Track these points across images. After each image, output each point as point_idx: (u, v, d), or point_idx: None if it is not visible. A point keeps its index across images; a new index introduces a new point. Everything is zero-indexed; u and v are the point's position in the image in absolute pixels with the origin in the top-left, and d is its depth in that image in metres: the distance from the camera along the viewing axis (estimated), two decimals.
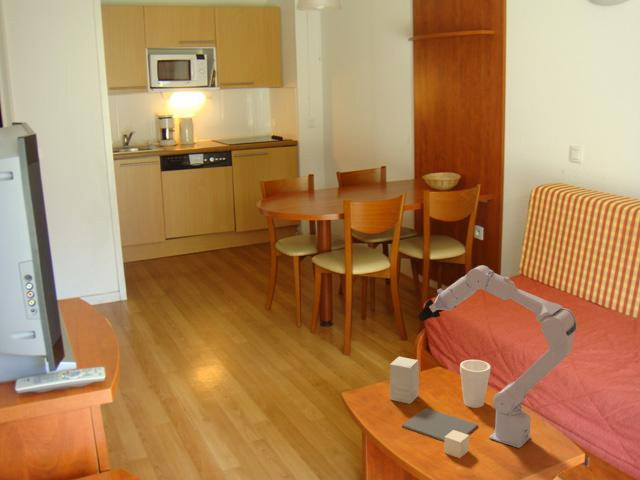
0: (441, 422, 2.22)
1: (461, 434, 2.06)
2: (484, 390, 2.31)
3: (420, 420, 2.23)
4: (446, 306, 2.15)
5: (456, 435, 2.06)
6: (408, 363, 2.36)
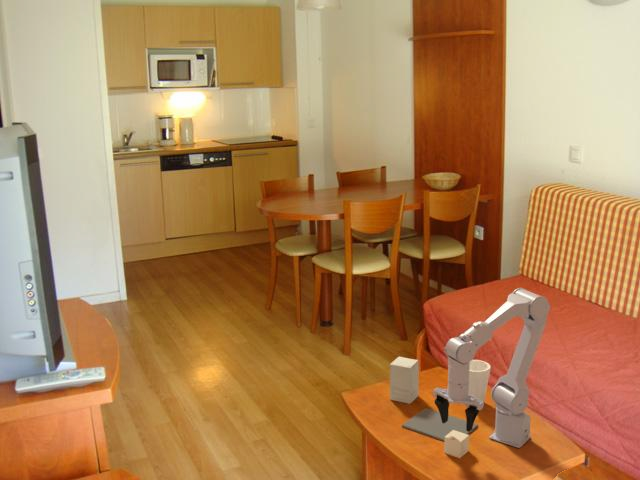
0: (441, 422, 2.22)
1: (461, 434, 2.06)
2: (484, 390, 2.31)
3: (420, 420, 2.23)
4: (468, 395, 2.02)
5: (456, 435, 2.06)
6: (408, 363, 2.36)
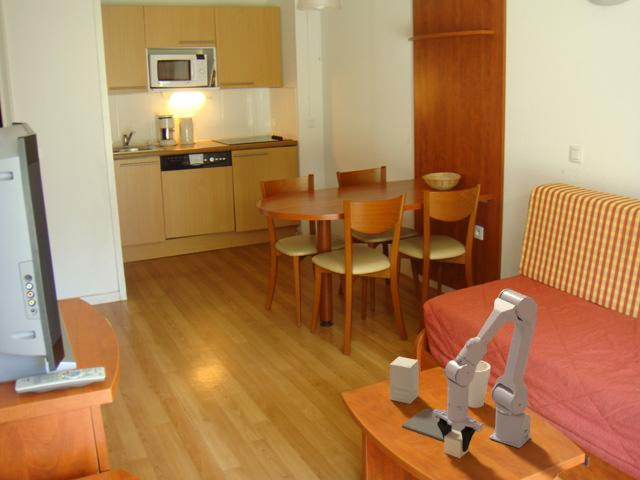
0: None
1: (461, 434, 2.06)
2: (484, 390, 2.31)
3: (420, 420, 2.23)
4: (468, 417, 2.04)
5: (456, 434, 2.06)
6: (408, 363, 2.36)
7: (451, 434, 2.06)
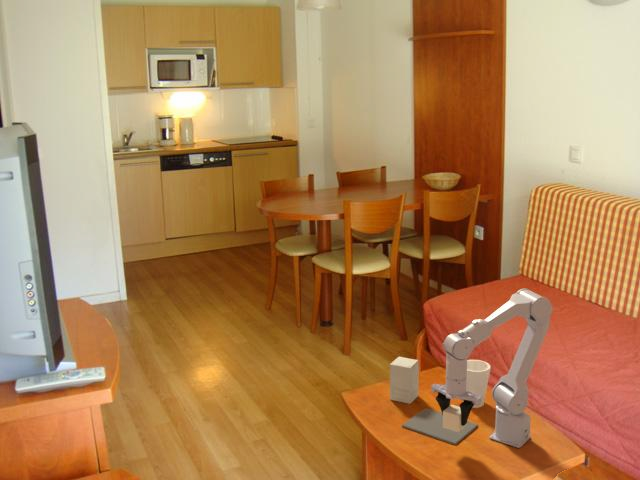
0: (441, 422, 2.22)
1: (459, 408, 2.07)
2: (484, 390, 2.31)
3: (420, 420, 2.23)
4: (466, 391, 2.04)
5: (454, 409, 2.06)
6: (408, 363, 2.36)
7: (449, 409, 2.06)
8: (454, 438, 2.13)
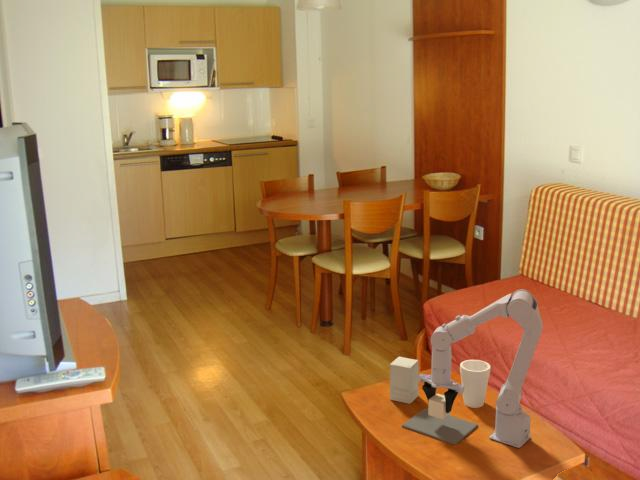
0: (441, 422, 2.22)
1: (444, 397, 2.20)
2: (484, 390, 2.31)
3: (420, 420, 2.23)
4: (450, 380, 2.17)
5: (439, 397, 2.19)
6: (408, 363, 2.36)
7: (435, 397, 2.19)
8: (454, 438, 2.13)
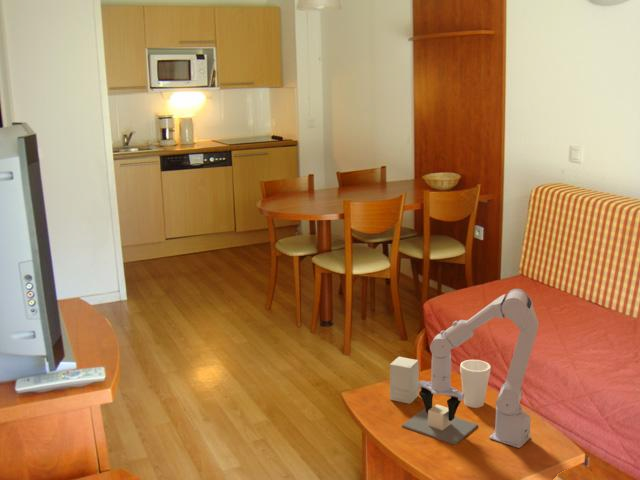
0: None
1: (444, 408, 2.20)
2: (484, 390, 2.31)
3: (420, 420, 2.23)
4: (450, 387, 2.18)
5: (439, 408, 2.20)
6: (408, 363, 2.36)
7: (435, 408, 2.20)
8: (454, 438, 2.13)
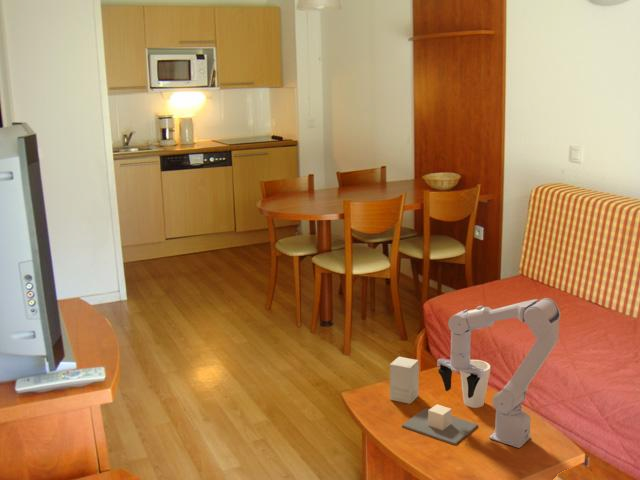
0: None
1: (444, 408, 2.20)
2: (484, 390, 2.31)
3: (420, 420, 2.23)
4: (470, 364, 2.19)
5: (439, 408, 2.20)
6: (408, 363, 2.36)
7: (435, 408, 2.20)
8: (454, 438, 2.13)
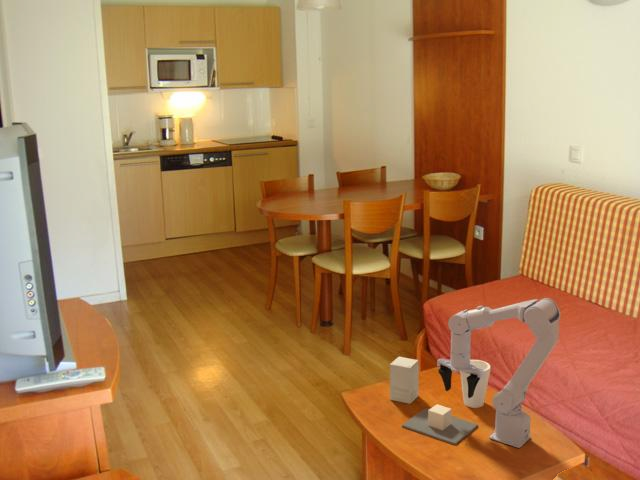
0: None
1: (444, 408, 2.20)
2: (484, 390, 2.31)
3: (420, 420, 2.23)
4: (470, 364, 2.19)
5: (439, 408, 2.20)
6: (408, 363, 2.36)
7: (435, 408, 2.20)
8: (454, 438, 2.13)
